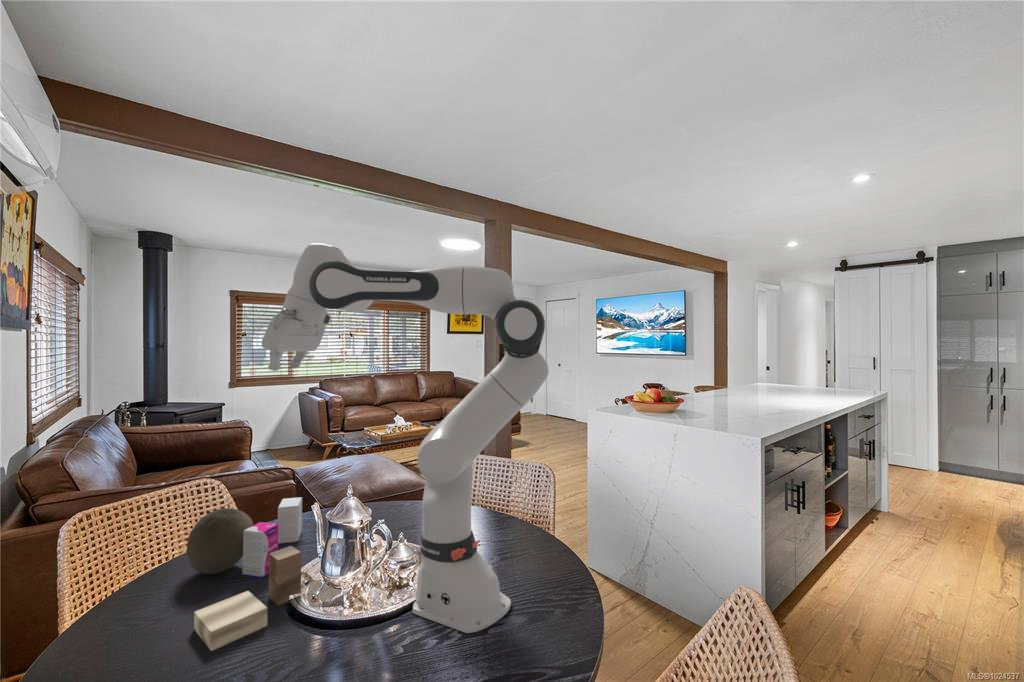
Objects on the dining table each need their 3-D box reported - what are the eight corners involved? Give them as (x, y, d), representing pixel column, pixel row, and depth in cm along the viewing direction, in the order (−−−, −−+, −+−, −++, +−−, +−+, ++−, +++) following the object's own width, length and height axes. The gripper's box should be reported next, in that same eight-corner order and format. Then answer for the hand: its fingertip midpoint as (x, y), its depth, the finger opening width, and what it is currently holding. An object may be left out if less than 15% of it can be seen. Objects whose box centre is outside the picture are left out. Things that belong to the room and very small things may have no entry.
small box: (282, 533, 137) (282, 498, 137) (302, 530, 139) (302, 496, 139) (277, 544, 130) (277, 507, 130) (298, 541, 131) (298, 505, 131)
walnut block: (301, 595, 103) (301, 552, 103) (278, 605, 100) (278, 560, 100) (291, 588, 107) (291, 545, 107) (268, 597, 103) (268, 553, 103)
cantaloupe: (217, 588, 107) (218, 524, 107) (172, 579, 110) (172, 518, 110) (265, 560, 120) (265, 504, 120) (223, 553, 124) (223, 498, 124)
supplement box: (262, 579, 111) (262, 532, 111) (241, 576, 112) (241, 530, 112) (279, 567, 116) (279, 523, 116) (259, 565, 118) (259, 521, 118)
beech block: (267, 627, 93) (267, 607, 93) (211, 653, 85) (211, 631, 85) (248, 608, 99) (248, 590, 99) (194, 631, 91) (194, 611, 91)
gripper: (295, 312, 93) (273, 376, 93) (333, 318, 114) (316, 370, 114) (266, 303, 93) (244, 366, 93) (310, 310, 114) (292, 362, 114)
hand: (284, 368), depth 104 cm, fingers open, 8 cm apart
